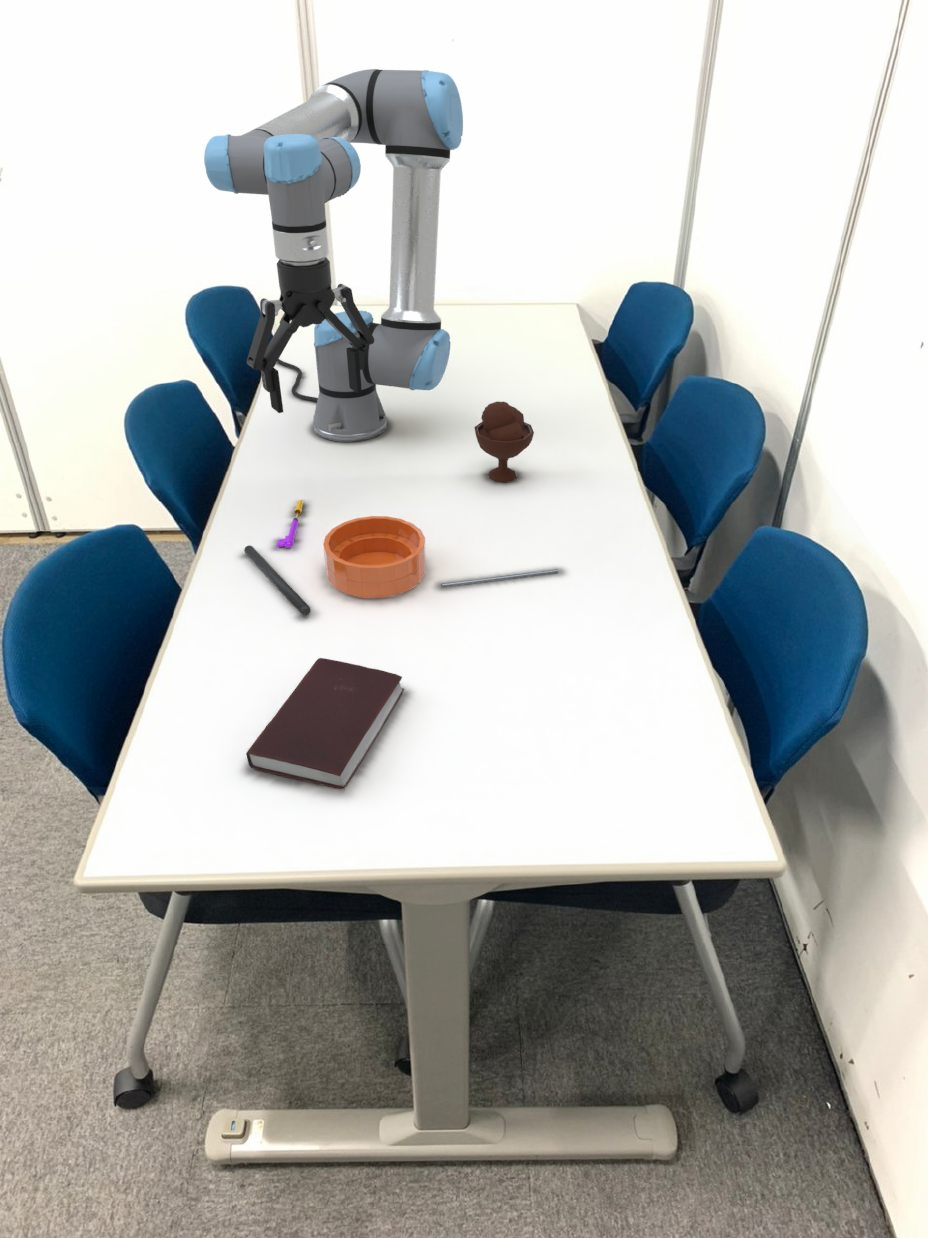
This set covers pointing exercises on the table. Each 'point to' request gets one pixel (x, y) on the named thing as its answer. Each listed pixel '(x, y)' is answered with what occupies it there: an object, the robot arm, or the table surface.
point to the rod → (499, 578)
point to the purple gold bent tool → (290, 538)
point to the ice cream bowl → (503, 437)
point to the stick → (278, 581)
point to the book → (327, 723)
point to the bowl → (375, 556)
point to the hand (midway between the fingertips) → (317, 399)
